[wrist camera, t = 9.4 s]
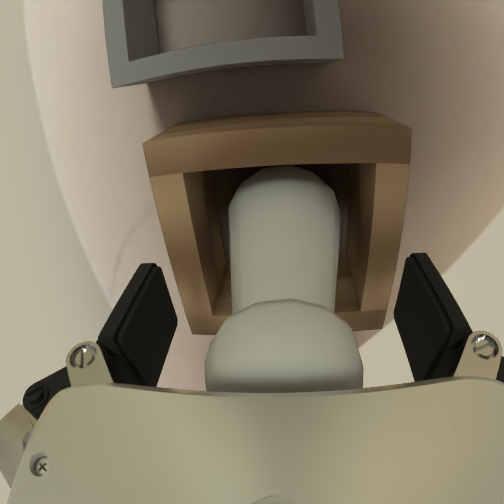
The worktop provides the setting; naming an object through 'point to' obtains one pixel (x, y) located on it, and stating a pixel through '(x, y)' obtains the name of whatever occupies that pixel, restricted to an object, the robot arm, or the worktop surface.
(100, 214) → the worktop surface
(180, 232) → the brown wooden open box
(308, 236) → the salt shaker
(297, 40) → the grey open tray
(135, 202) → the worktop surface
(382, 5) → the worktop surface
